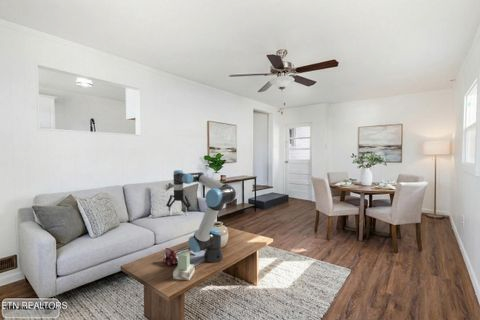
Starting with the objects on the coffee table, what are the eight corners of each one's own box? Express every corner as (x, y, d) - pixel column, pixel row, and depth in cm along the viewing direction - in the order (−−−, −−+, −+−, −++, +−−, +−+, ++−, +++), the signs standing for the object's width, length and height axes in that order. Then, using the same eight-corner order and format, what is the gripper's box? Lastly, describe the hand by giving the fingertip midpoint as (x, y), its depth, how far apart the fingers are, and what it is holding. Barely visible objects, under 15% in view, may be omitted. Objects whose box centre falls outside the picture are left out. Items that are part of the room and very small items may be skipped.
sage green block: (189, 265, 161) (189, 251, 160) (186, 270, 155) (186, 255, 154) (181, 265, 161) (181, 251, 161) (178, 269, 156) (177, 255, 155)
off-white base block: (194, 271, 163) (194, 264, 163) (189, 280, 152) (189, 272, 152) (179, 270, 164) (179, 263, 164) (173, 279, 154) (173, 271, 153)
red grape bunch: (171, 267, 168) (171, 253, 168) (162, 262, 176) (161, 248, 176) (179, 264, 174) (179, 250, 173) (170, 259, 182) (169, 246, 181)
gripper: (194, 188, 192) (194, 214, 193) (165, 188, 195) (166, 213, 196) (191, 190, 185) (192, 216, 185) (161, 189, 188) (162, 215, 188)
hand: (178, 215), depth 191 cm, fingers open, 13 cm apart
